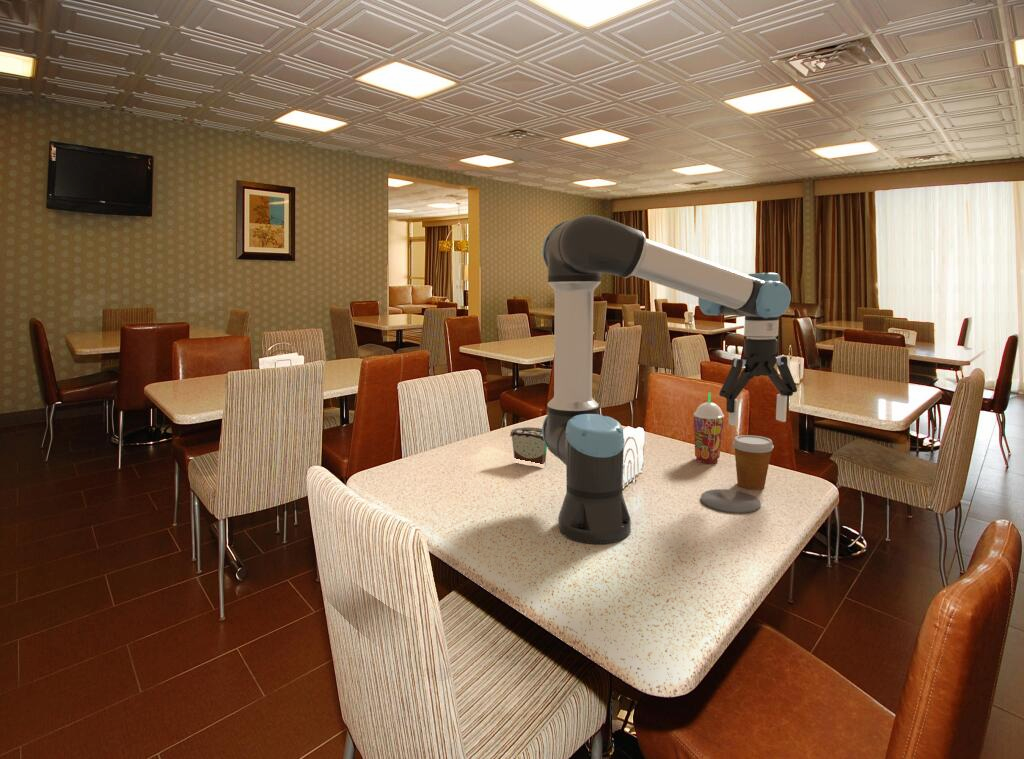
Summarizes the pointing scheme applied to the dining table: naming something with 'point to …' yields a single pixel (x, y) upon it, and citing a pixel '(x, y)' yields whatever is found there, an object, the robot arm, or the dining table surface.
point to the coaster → (730, 501)
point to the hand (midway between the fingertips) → (757, 423)
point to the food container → (529, 444)
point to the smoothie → (708, 431)
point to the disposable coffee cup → (752, 460)
